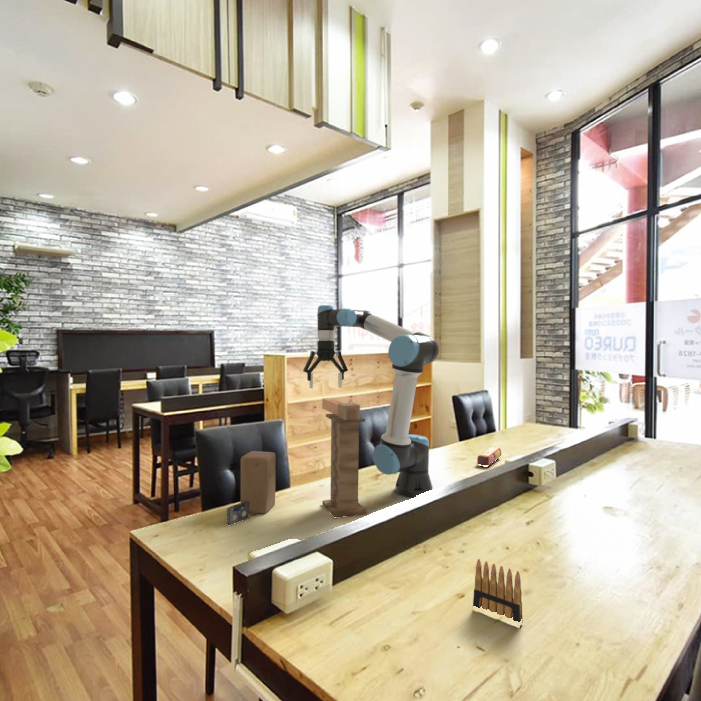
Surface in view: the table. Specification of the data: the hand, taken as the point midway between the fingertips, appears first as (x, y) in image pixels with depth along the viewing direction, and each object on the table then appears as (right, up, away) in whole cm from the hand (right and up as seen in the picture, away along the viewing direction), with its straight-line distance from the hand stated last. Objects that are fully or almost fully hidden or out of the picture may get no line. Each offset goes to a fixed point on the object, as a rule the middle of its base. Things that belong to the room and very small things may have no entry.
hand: (325, 387), depth 204 cm
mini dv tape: (-27, -42, -50) cm, 70 cm away
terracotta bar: (+7, -7, -32) cm, 33 cm away
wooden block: (-23, -41, -38) cm, 60 cm away
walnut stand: (+9, -41, -37) cm, 56 cm away
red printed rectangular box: (+82, -41, +29) cm, 96 cm away
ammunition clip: (+44, -43, -102) cm, 119 cm away
